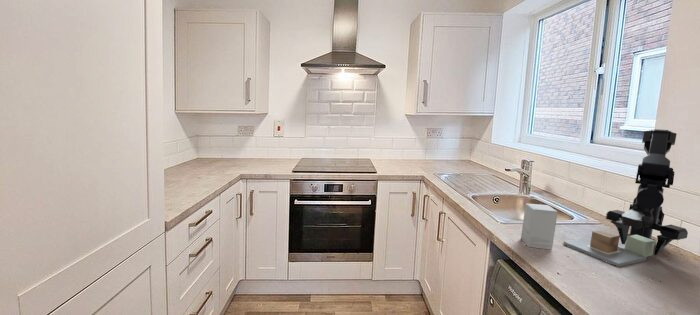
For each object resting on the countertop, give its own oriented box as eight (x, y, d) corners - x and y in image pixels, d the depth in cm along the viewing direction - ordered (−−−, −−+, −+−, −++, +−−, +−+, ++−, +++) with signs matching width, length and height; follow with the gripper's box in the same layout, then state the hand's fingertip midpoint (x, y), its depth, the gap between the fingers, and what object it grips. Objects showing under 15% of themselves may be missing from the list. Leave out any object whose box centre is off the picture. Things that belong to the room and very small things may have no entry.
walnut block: (599, 244, 106) (602, 229, 105) (617, 250, 101) (619, 235, 101) (589, 246, 104) (592, 231, 103) (607, 253, 100) (609, 237, 99)
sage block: (633, 249, 107) (636, 234, 106) (652, 255, 102) (655, 240, 101) (624, 250, 105) (627, 236, 104) (643, 257, 100) (646, 242, 99)
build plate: (590, 239, 113) (590, 236, 113) (646, 260, 98) (646, 256, 98) (563, 244, 108) (563, 241, 107) (618, 267, 93) (618, 263, 93)
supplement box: (552, 250, 102) (558, 211, 101) (527, 247, 104) (532, 209, 102) (543, 241, 110) (549, 204, 108) (520, 238, 111) (525, 202, 109)
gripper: (599, 195, 106) (591, 240, 109) (672, 213, 89) (661, 266, 92) (619, 193, 111) (612, 237, 113) (693, 210, 94) (682, 261, 96)
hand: (638, 249), depth 103 cm, fingers open, 8 cm apart
